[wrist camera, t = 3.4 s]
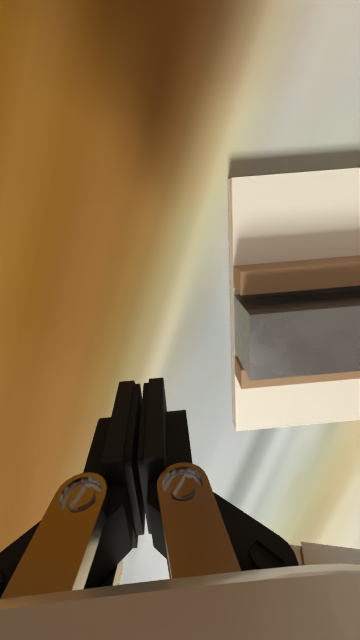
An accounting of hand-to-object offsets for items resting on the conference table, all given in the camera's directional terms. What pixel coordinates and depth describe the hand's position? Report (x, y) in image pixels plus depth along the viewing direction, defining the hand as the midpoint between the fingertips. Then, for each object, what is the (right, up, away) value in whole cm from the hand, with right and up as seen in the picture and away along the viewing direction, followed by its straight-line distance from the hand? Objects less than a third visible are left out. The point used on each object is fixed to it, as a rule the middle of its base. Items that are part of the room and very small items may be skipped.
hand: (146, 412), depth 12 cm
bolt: (+11, +4, +9) cm, 15 cm away
